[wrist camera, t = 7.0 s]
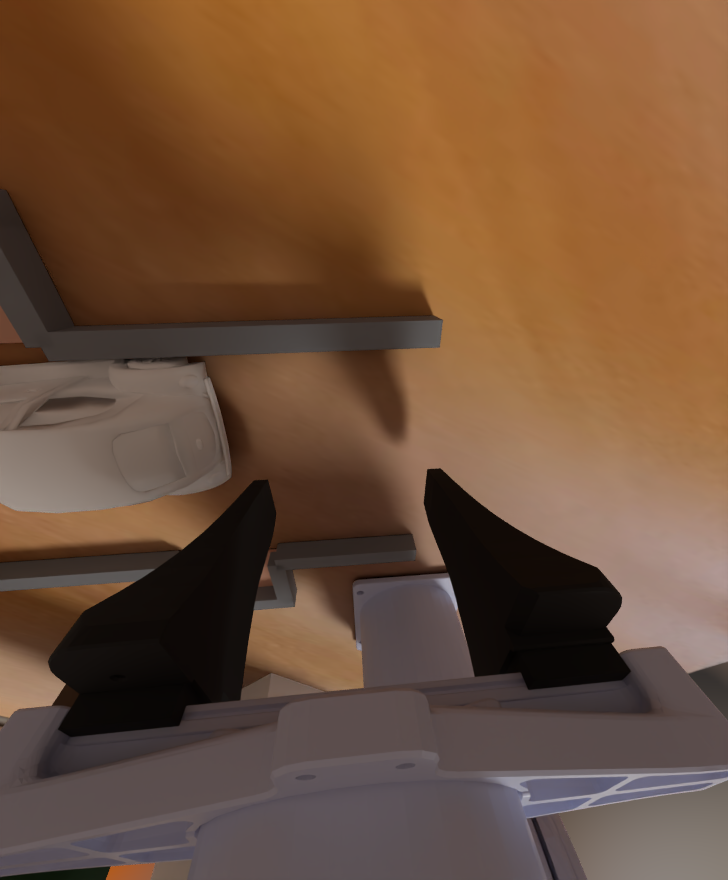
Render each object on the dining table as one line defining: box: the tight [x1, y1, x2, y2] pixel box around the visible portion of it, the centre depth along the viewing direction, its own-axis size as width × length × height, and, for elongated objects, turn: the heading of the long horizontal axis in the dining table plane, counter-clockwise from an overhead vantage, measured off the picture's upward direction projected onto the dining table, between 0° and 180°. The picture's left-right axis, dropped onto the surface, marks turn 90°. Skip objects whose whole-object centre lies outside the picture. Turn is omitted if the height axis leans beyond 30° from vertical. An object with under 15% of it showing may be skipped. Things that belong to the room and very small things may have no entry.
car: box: [0, 357, 232, 513], centre depth 11 cm, size 12×6×5 cm, turn 87°
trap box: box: [0, 189, 443, 610], centre depth 13 cm, size 22×28×3 cm
